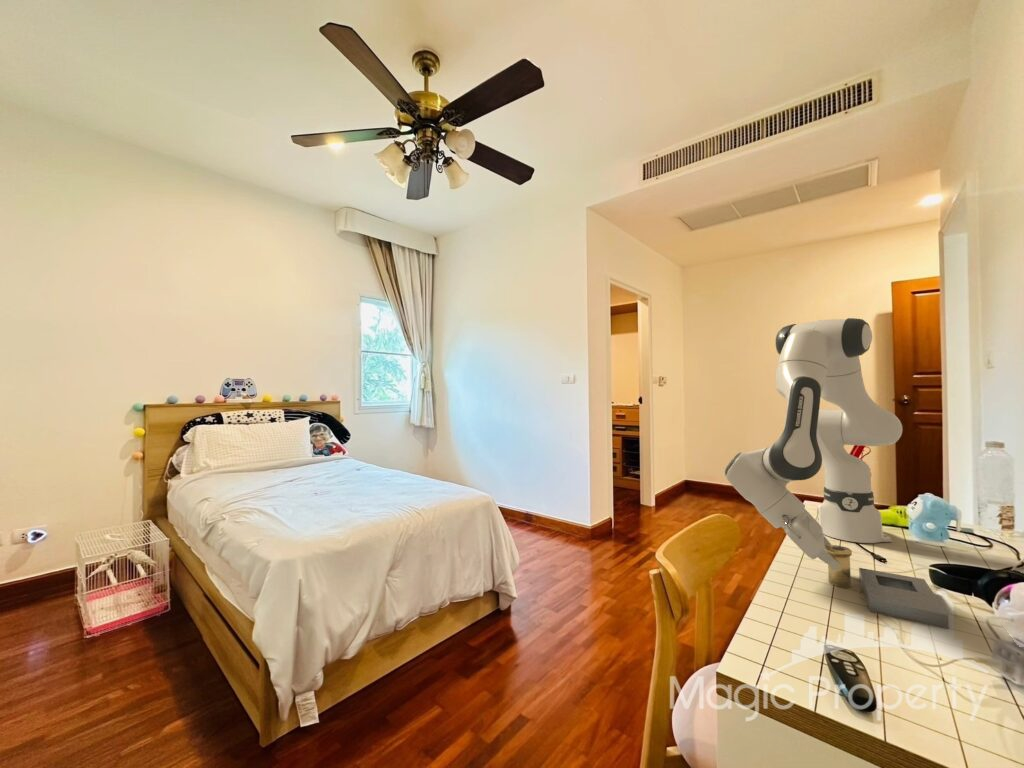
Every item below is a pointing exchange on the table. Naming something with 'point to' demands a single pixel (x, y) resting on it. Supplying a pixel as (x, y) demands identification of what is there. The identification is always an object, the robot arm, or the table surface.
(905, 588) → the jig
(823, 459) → the robot arm
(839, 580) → the bushing
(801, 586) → the table surface
